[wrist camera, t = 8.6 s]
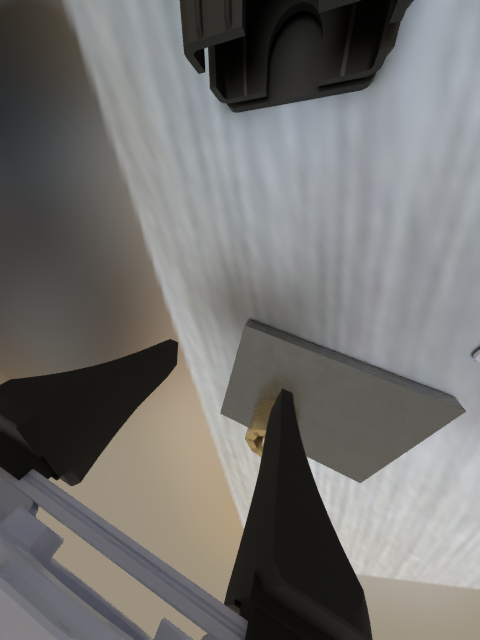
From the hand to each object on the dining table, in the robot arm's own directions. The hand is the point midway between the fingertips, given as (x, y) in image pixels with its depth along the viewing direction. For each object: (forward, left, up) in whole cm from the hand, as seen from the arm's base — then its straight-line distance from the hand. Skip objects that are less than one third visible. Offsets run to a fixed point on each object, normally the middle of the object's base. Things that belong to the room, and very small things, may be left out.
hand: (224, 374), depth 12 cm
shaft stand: (-9, +9, -9) cm, 16 cm away
